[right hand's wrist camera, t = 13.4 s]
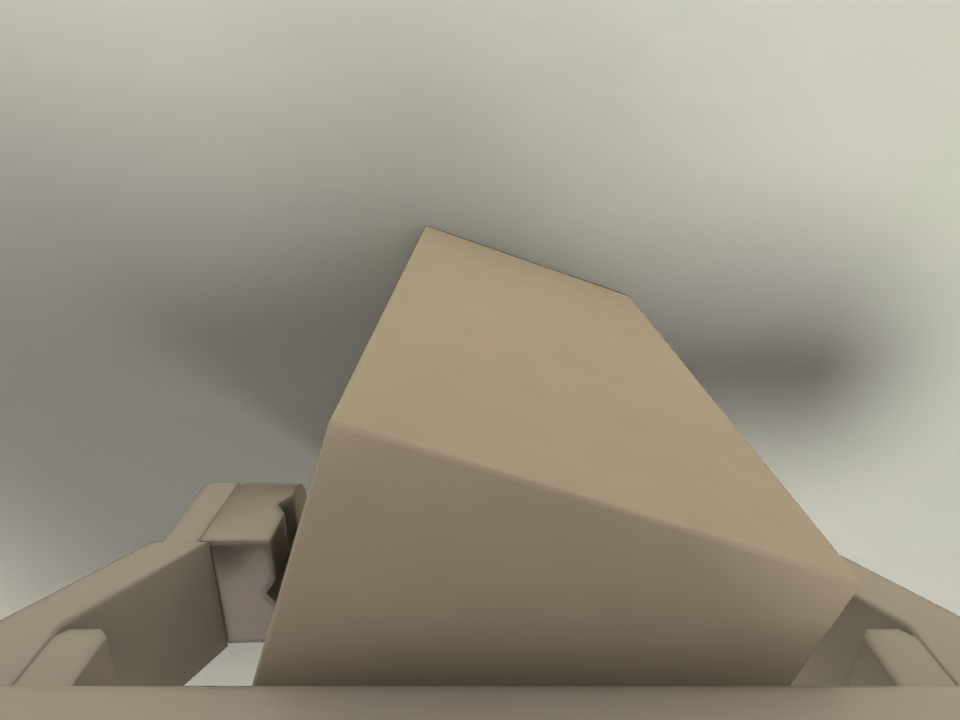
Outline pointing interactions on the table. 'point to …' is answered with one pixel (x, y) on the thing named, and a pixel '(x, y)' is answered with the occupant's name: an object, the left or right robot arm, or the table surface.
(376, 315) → the table surface
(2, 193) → the table surface
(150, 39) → the table surface
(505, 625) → the brick
